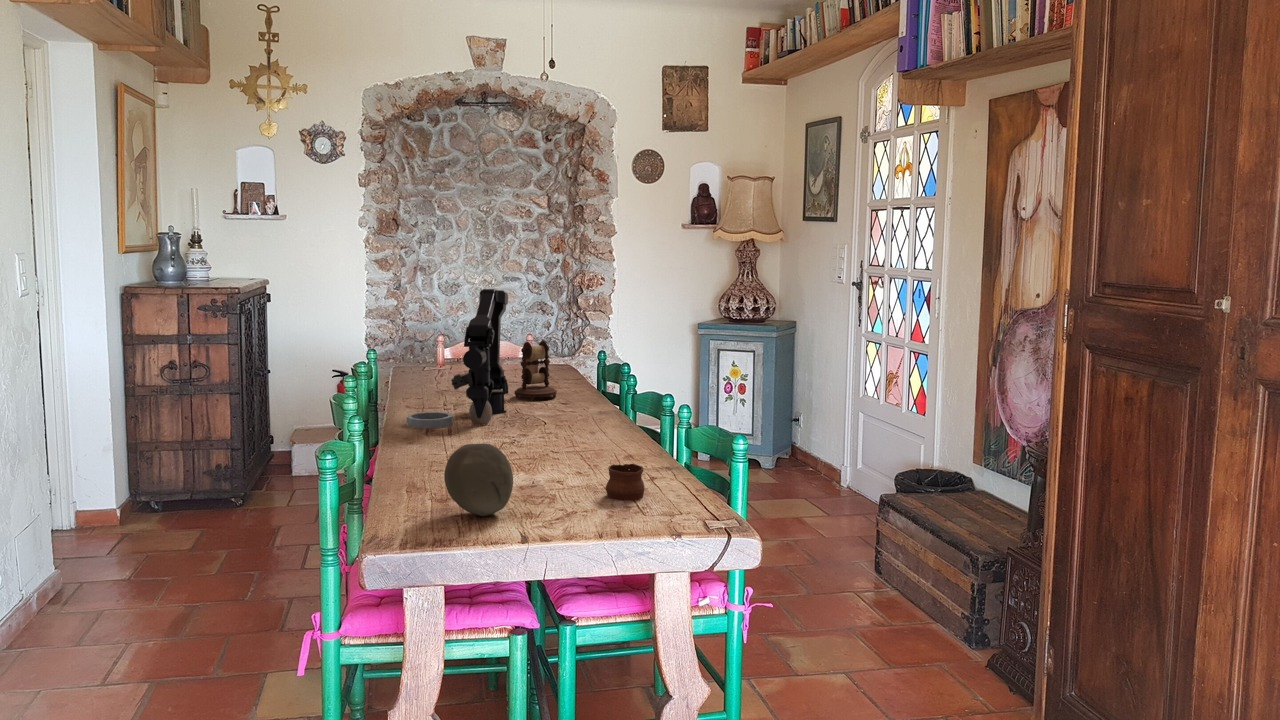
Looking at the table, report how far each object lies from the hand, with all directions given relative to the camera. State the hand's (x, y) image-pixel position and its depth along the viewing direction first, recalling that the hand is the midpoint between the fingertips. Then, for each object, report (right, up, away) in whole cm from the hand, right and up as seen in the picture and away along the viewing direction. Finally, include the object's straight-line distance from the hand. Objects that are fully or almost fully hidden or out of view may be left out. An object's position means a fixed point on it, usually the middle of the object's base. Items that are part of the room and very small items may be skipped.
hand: (480, 415), depth 310 cm
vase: (0, -3, 0) cm, 3 cm away
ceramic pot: (+45, -14, -82) cm, 95 cm away
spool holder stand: (+12, +3, +49) cm, 50 cm away
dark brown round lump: (+15, -15, -98) cm, 100 cm away
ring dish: (-15, -3, 0) cm, 16 cm away
